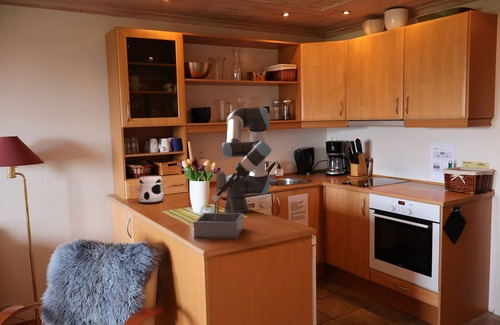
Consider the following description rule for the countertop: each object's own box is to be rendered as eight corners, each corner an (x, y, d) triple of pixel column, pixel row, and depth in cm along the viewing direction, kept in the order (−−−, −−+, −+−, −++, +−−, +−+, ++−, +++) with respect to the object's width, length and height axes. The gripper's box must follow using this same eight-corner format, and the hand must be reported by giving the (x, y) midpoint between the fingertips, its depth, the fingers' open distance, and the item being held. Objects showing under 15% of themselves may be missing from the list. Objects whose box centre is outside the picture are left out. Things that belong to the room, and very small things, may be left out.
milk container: (135, 202, 299) (133, 177, 297) (157, 199, 309) (156, 174, 307) (145, 205, 285) (143, 179, 283) (168, 202, 295) (167, 177, 294)
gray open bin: (204, 227, 223) (203, 212, 222) (243, 228, 220) (242, 213, 219) (194, 238, 203) (193, 221, 202) (237, 239, 200) (236, 222, 200)
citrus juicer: (235, 230, 212) (234, 171, 209) (223, 235, 204) (221, 173, 201) (217, 227, 218) (216, 170, 215) (205, 232, 210) (203, 172, 207)
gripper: (247, 176, 194) (216, 207, 197) (254, 169, 218) (226, 198, 222) (235, 164, 194) (204, 196, 197) (243, 159, 219) (216, 188, 222)
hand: (216, 197), depth 210 cm, fingers open, 13 cm apart
